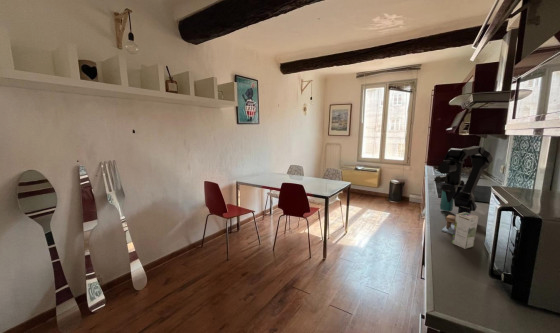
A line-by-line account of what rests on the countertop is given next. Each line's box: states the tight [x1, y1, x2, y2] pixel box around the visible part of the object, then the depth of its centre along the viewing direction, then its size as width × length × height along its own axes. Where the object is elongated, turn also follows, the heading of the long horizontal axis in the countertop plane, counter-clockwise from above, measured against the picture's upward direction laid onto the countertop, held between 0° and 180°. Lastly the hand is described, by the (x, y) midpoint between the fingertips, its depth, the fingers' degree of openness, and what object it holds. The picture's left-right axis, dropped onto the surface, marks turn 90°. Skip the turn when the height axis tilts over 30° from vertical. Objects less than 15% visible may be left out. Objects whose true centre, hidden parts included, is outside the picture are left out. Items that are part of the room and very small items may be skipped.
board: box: [441, 224, 455, 235], centre depth 117 cm, size 11×9×1 cm
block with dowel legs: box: [445, 214, 456, 229], centre depth 117 cm, size 8×5×6 cm, turn 40°
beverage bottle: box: [439, 183, 454, 212], centre depth 142 cm, size 6×7×20 cm
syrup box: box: [451, 212, 479, 250], centre depth 102 cm, size 6×6×14 cm
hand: (451, 200), depth 125 cm, fingers open, 9 cm apart
